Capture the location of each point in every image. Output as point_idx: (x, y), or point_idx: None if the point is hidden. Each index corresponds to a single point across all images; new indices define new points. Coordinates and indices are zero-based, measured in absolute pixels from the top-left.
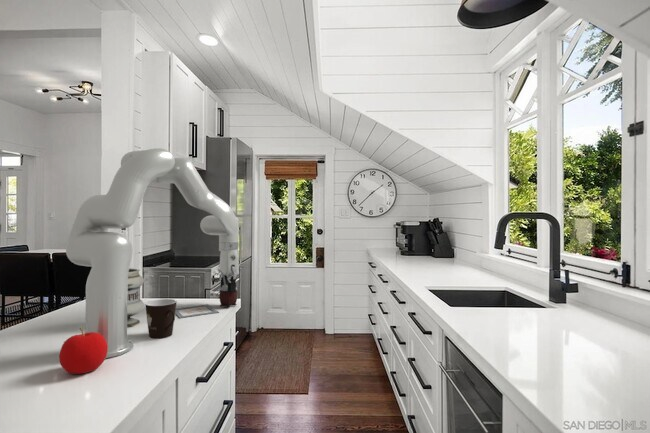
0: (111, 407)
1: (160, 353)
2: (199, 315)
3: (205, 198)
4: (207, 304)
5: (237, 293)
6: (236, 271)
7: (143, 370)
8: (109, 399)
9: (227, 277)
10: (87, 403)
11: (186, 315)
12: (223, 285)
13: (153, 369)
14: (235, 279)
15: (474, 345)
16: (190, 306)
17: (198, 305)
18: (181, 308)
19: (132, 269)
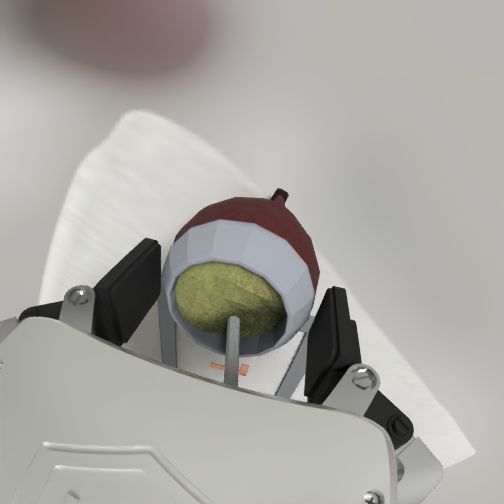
0: (461, 457)
1: (428, 445)
2: (303, 373)
3: None
4: (162, 282)
5: (293, 220)
6: (426, 496)
7: (442, 452)
8: (452, 459)
9: (94, 308)
10: (441, 464)
11: (277, 393)
12: (181, 325)
13: (450, 447)
14: (397, 414)
15: None
16: (161, 335)
17: (161, 313)
18: (175, 362)
19: None
